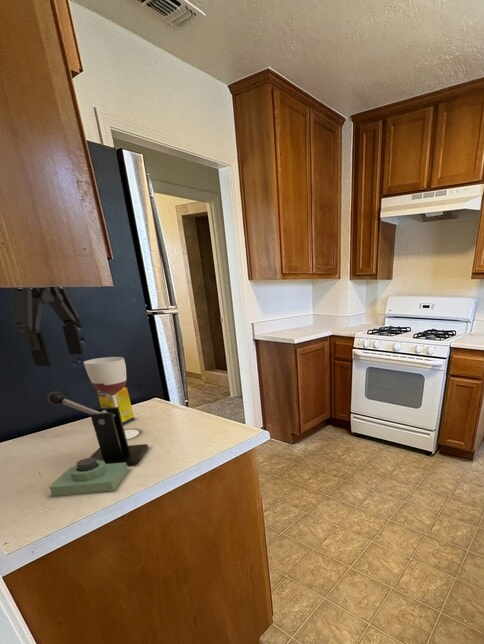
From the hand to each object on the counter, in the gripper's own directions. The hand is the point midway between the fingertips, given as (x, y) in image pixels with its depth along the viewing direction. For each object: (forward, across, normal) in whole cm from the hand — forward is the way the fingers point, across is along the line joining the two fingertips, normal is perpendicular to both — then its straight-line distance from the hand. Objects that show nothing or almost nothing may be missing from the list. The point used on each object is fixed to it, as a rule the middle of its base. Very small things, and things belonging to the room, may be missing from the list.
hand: (61, 359), depth 78 cm
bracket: (+25, +1, -6) cm, 26 cm away
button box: (+25, -11, -5) cm, 28 cm away
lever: (+13, +1, 0) cm, 13 cm away
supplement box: (+26, +29, +3) cm, 39 cm away
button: (+22, -11, -5) cm, 25 cm away
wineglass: (+26, +17, -2) cm, 31 cm away
